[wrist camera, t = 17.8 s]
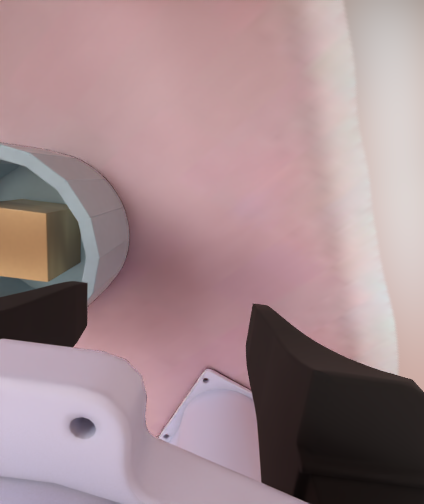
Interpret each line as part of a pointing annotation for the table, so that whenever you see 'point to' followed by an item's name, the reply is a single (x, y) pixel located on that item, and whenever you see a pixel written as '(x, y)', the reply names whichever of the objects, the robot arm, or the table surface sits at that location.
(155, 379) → the table surface
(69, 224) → the block
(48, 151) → the tin
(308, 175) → the table surface
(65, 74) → the table surface
